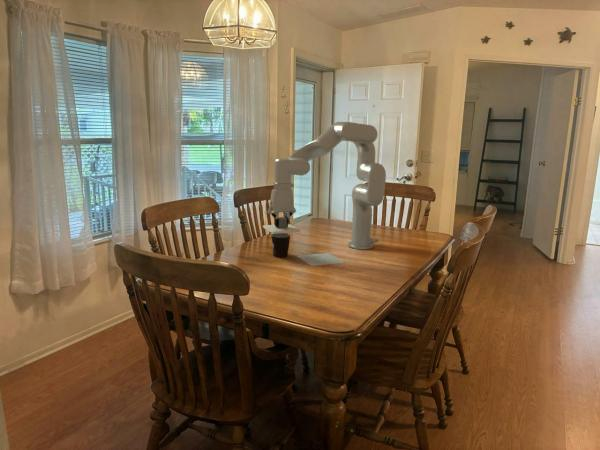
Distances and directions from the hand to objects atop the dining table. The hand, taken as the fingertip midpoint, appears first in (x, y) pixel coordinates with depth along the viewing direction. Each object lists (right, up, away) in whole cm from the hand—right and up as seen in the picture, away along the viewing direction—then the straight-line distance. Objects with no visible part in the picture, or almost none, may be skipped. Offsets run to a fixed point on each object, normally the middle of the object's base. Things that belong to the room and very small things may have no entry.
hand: (281, 226), depth 201 cm
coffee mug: (0, -14, +3) cm, 14 cm away
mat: (+17, -15, -2) cm, 23 cm away
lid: (0, -1, 0) cm, 1 cm away
